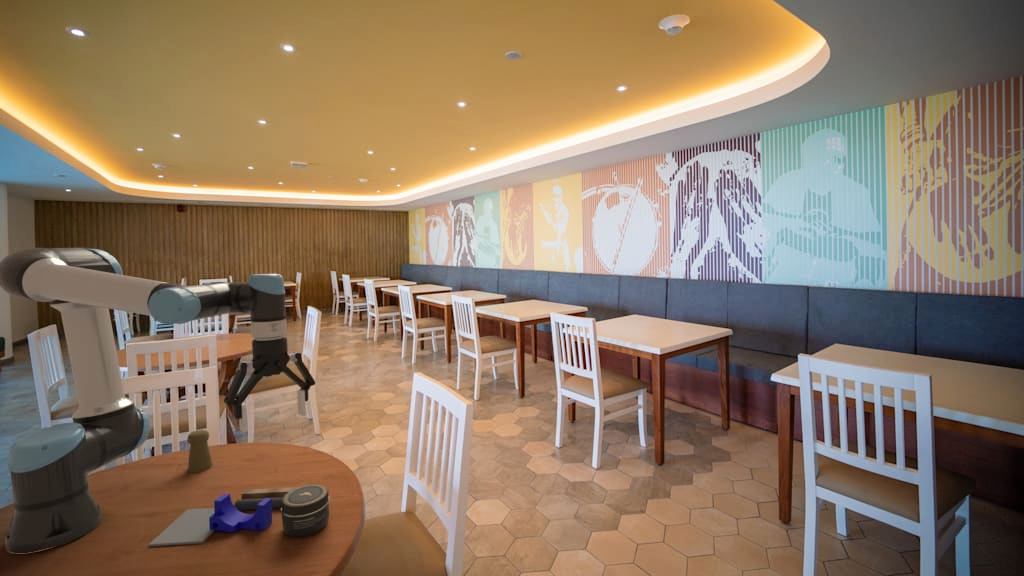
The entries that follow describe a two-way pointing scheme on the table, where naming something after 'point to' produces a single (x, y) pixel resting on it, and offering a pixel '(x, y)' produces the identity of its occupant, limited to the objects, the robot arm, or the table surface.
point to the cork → (199, 451)
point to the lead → (255, 503)
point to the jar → (305, 510)
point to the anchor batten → (265, 493)
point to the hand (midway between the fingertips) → (274, 422)
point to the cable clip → (239, 516)
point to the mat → (187, 529)
